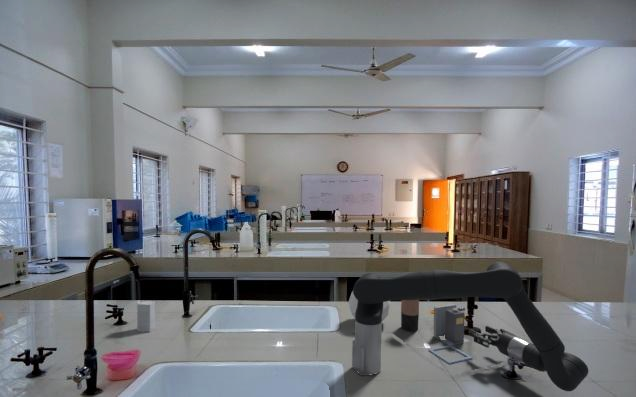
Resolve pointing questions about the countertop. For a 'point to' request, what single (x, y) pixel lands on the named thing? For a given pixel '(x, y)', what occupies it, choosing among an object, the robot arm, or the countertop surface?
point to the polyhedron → (354, 302)
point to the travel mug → (409, 315)
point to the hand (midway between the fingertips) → (477, 330)
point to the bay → (442, 322)
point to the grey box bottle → (454, 325)
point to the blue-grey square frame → (452, 360)
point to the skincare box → (146, 316)
